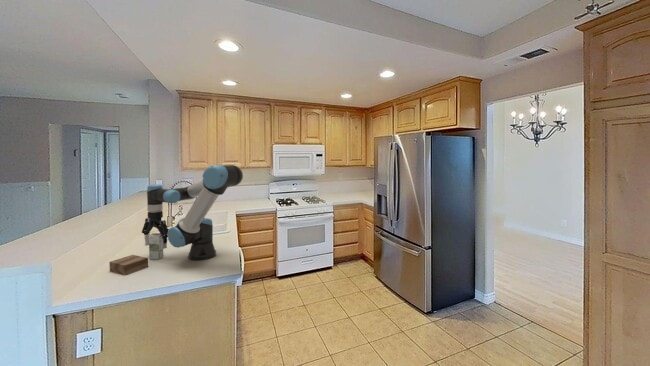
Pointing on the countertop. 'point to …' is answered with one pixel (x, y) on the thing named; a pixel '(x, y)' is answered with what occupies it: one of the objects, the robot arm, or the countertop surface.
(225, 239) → the countertop surface
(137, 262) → the walnut plinth
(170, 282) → the countertop surface
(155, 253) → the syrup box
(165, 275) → the countertop surface
